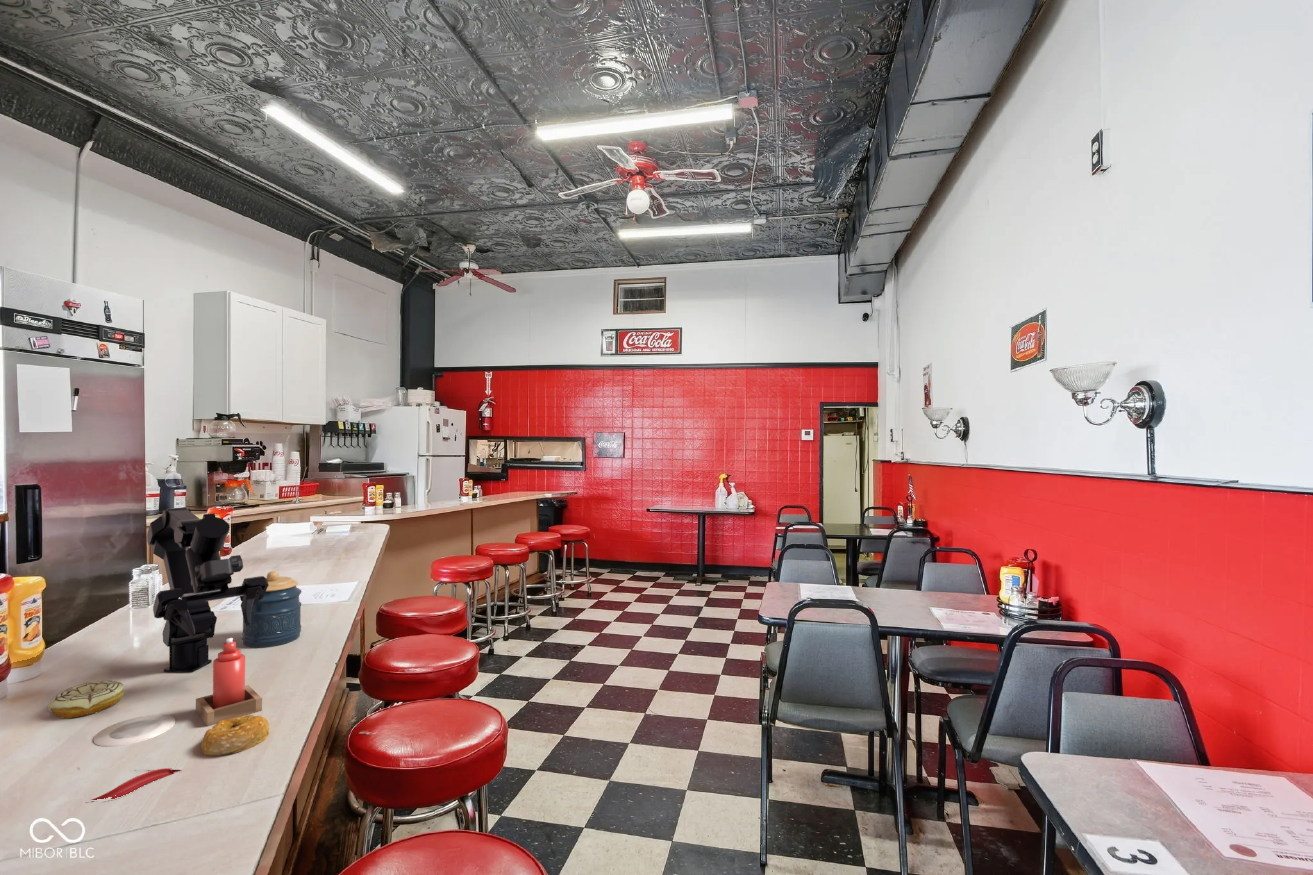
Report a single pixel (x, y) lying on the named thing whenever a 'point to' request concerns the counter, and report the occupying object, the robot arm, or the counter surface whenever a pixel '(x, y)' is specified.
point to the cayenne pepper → (137, 783)
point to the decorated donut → (86, 698)
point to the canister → (275, 614)
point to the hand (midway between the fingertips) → (221, 630)
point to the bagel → (235, 735)
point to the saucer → (134, 730)
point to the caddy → (228, 707)
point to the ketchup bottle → (228, 676)
